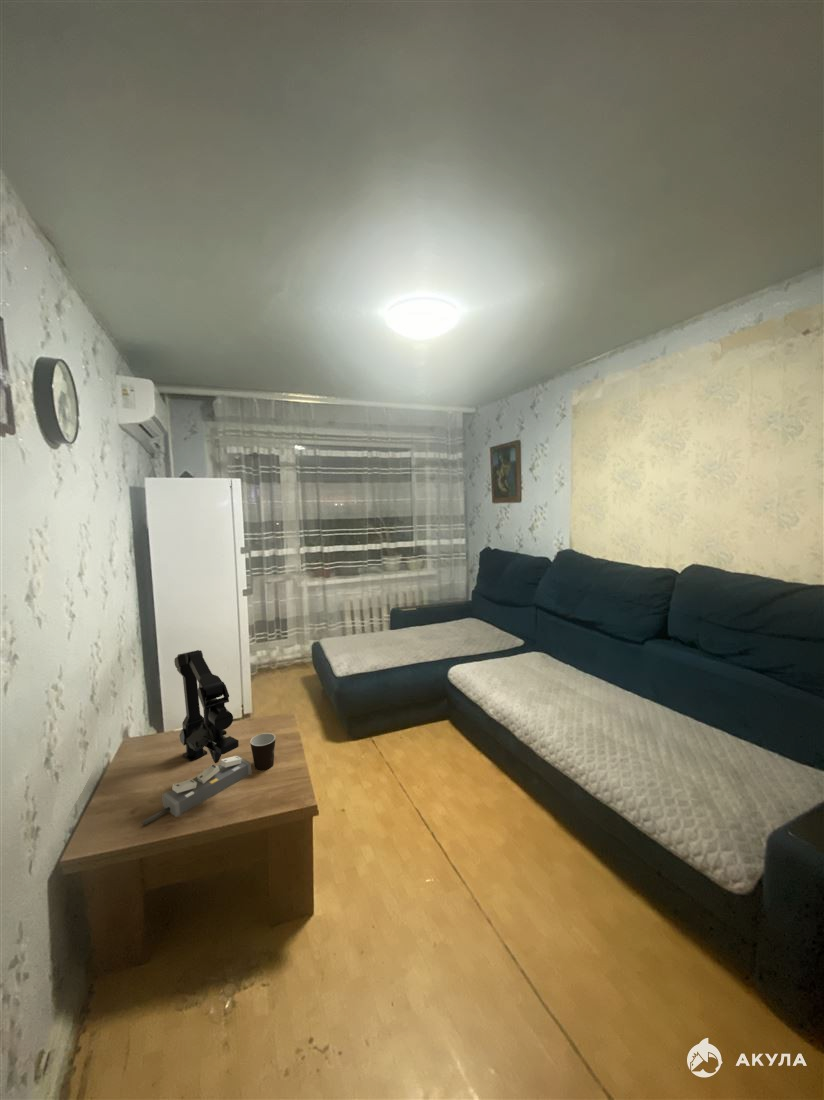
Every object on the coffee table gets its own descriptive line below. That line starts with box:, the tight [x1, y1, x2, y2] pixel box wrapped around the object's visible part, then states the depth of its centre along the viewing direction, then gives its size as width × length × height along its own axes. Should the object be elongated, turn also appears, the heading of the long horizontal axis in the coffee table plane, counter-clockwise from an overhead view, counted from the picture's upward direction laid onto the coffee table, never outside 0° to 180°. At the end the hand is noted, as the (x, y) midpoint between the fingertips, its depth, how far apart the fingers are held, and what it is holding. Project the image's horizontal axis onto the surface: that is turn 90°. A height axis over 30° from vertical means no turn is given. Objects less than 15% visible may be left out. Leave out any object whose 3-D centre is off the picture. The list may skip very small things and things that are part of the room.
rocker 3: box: [219, 755, 242, 767], centre depth 152 cm, size 3×6×2 cm, turn 144°
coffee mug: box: [249, 732, 276, 772], centre depth 160 cm, size 12×9×10 cm
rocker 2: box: [196, 763, 220, 784], centre depth 146 cm, size 3×6×2 cm, turn 144°
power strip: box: [141, 754, 252, 826], centre depth 143 cm, size 8×34×4 cm, turn 144°
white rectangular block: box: [171, 778, 197, 793], centre depth 139 cm, size 3×6×2 cm, turn 144°
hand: (216, 762), depth 148 cm, fingers closed
